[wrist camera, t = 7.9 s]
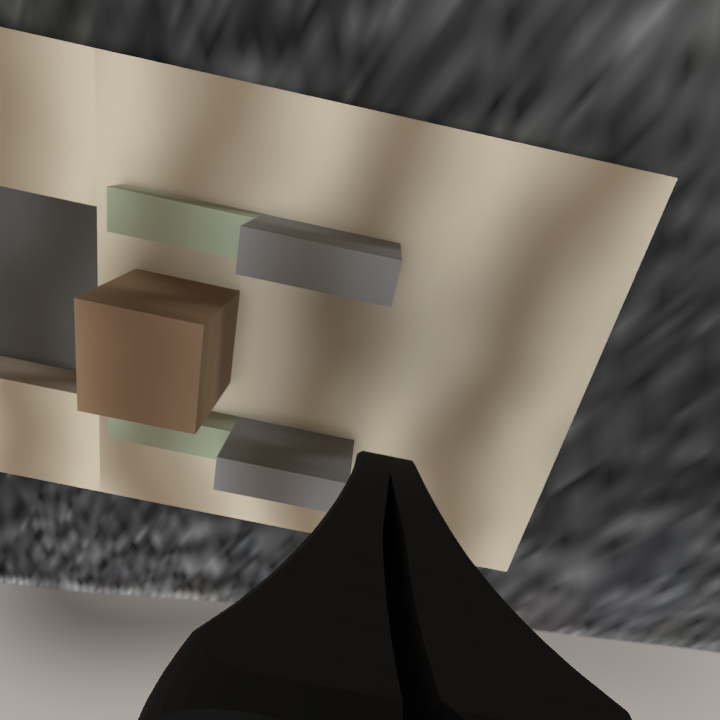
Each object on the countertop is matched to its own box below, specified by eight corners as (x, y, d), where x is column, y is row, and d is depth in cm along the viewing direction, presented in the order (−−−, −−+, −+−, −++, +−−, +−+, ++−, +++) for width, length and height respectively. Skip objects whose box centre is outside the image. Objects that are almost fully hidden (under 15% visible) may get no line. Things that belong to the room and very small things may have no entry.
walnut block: (240, 290, 19) (203, 325, 15) (230, 383, 20) (195, 434, 17) (135, 268, 19) (73, 298, 15) (133, 363, 20) (77, 410, 17)
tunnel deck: (648, 175, 18) (735, 184, 14) (498, 541, 25) (522, 628, 21) (-85, 11, 18) (-253, -37, 13) (-28, 436, 25) (-124, 502, 20)
